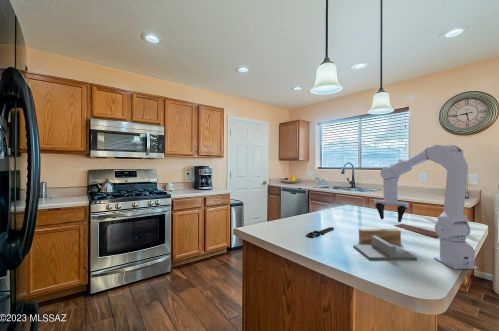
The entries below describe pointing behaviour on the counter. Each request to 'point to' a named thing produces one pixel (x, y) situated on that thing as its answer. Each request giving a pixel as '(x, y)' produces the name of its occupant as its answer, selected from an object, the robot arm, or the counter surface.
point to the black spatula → (319, 232)
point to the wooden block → (380, 235)
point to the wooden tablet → (418, 230)
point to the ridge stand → (383, 251)
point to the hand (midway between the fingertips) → (390, 220)
